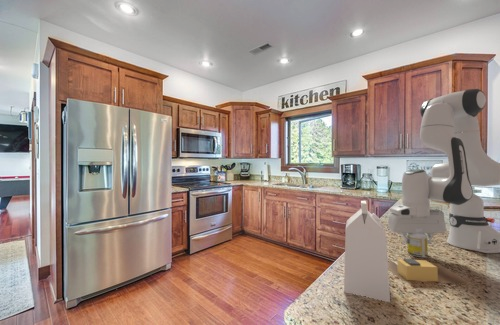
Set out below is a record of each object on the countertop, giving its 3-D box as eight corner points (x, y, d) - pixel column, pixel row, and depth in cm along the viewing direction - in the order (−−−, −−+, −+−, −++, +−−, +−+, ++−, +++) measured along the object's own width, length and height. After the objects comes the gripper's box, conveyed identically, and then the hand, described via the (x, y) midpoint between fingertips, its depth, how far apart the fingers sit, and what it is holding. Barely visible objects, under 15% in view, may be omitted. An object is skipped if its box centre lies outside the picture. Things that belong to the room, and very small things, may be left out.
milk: (345, 274, 74) (344, 198, 75) (384, 281, 69) (382, 200, 70) (344, 292, 64) (342, 203, 64) (390, 302, 59) (387, 206, 59)
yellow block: (426, 273, 72) (425, 258, 72) (437, 281, 67) (437, 265, 67) (397, 272, 73) (397, 257, 73) (406, 280, 68) (406, 264, 68)
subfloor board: (437, 266, 79) (437, 263, 79) (472, 287, 65) (472, 283, 65) (380, 264, 81) (380, 261, 81) (402, 284, 67) (402, 280, 67)
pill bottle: (423, 253, 90) (422, 225, 90) (430, 259, 84) (429, 229, 84) (405, 251, 92) (404, 224, 92) (410, 257, 86) (409, 228, 86)
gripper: (437, 207, 90) (438, 240, 90) (385, 207, 92) (386, 240, 92) (449, 210, 84) (451, 246, 84) (393, 211, 86) (395, 245, 86)
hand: (417, 243), depth 88 cm, fingers closed on pill bottle, 6 cm apart
